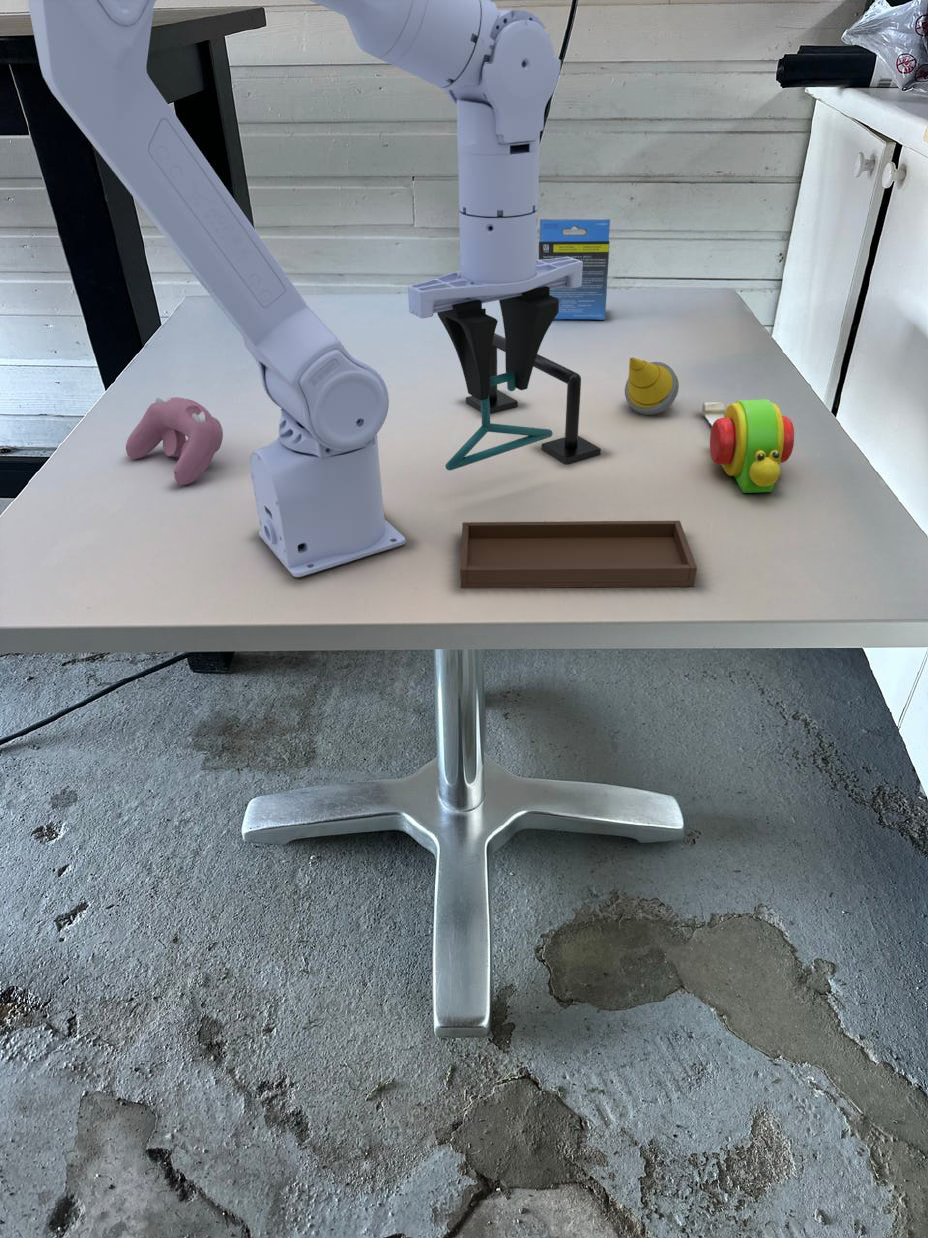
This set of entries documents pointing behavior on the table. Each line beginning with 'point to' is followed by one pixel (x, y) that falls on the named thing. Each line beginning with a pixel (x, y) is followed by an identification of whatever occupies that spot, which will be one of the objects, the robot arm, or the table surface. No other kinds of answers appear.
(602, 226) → the tape cartridge
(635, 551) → the tray
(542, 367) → the rail
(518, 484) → the table surface
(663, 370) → the yellow tiered cone
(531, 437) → the hanger
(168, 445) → the video game controller
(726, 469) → the toy measuring tape
